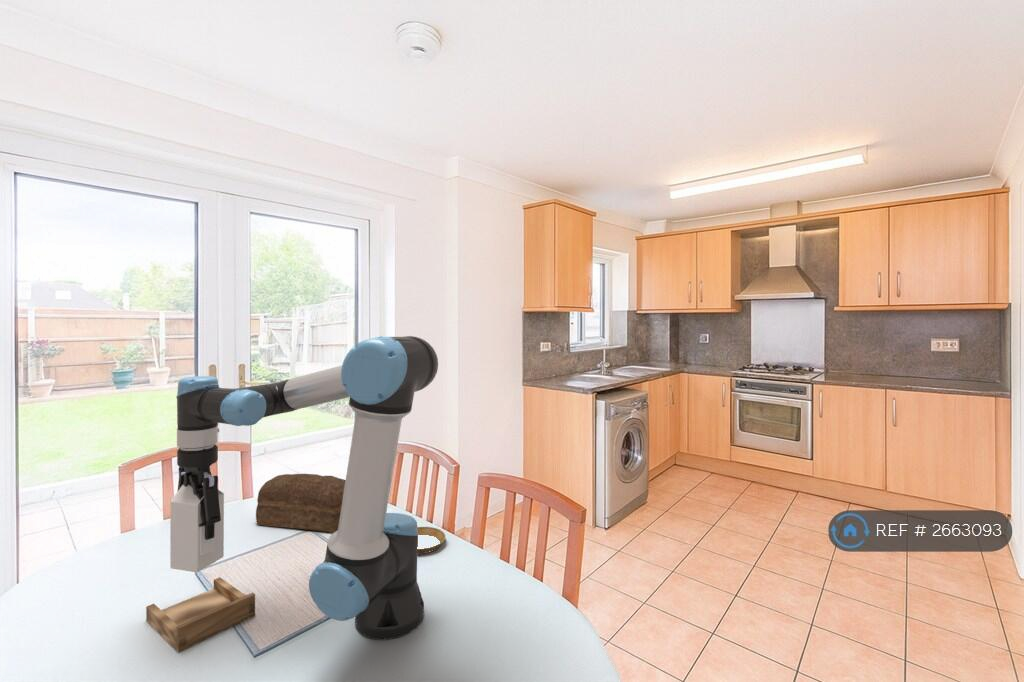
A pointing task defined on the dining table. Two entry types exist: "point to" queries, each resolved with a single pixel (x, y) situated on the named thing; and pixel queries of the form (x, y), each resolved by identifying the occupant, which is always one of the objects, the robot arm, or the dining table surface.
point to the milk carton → (192, 532)
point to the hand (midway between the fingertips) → (197, 545)
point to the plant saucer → (430, 532)
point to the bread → (301, 502)
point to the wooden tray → (201, 615)
